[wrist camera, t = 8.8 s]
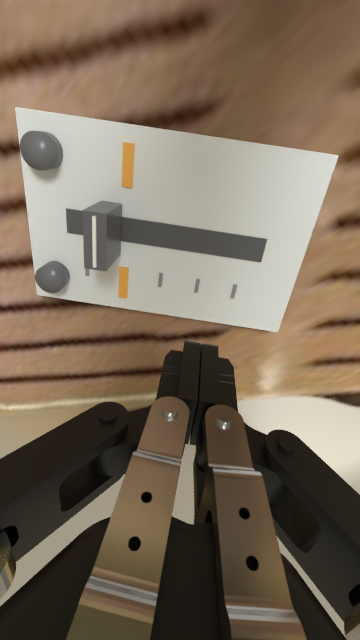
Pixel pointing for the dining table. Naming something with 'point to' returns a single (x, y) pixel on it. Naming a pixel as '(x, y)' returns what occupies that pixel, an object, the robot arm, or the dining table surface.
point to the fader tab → (102, 235)
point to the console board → (171, 217)
